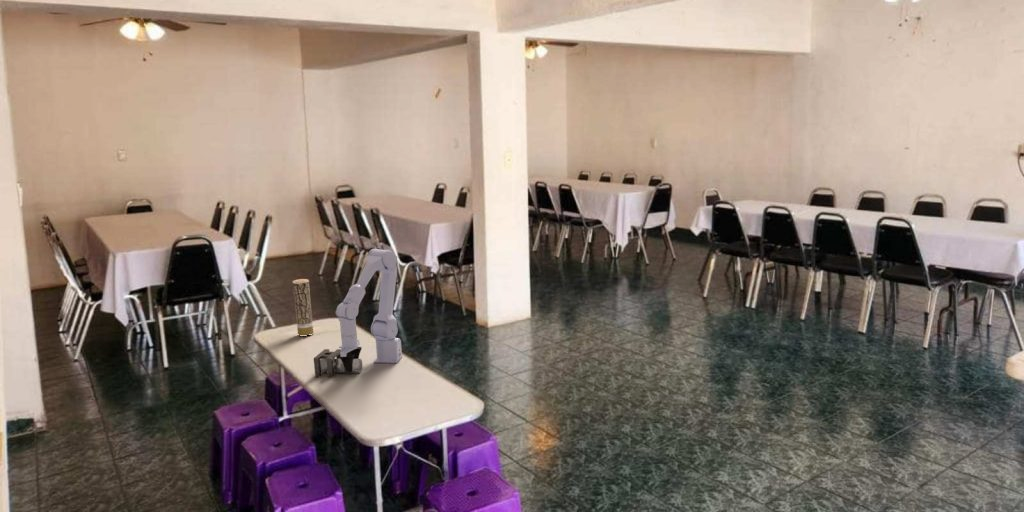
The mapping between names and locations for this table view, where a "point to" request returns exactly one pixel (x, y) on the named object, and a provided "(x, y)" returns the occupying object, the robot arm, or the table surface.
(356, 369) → the grey metal cylinder
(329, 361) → the brown bracket plates
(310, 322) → the log
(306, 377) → the table surface
